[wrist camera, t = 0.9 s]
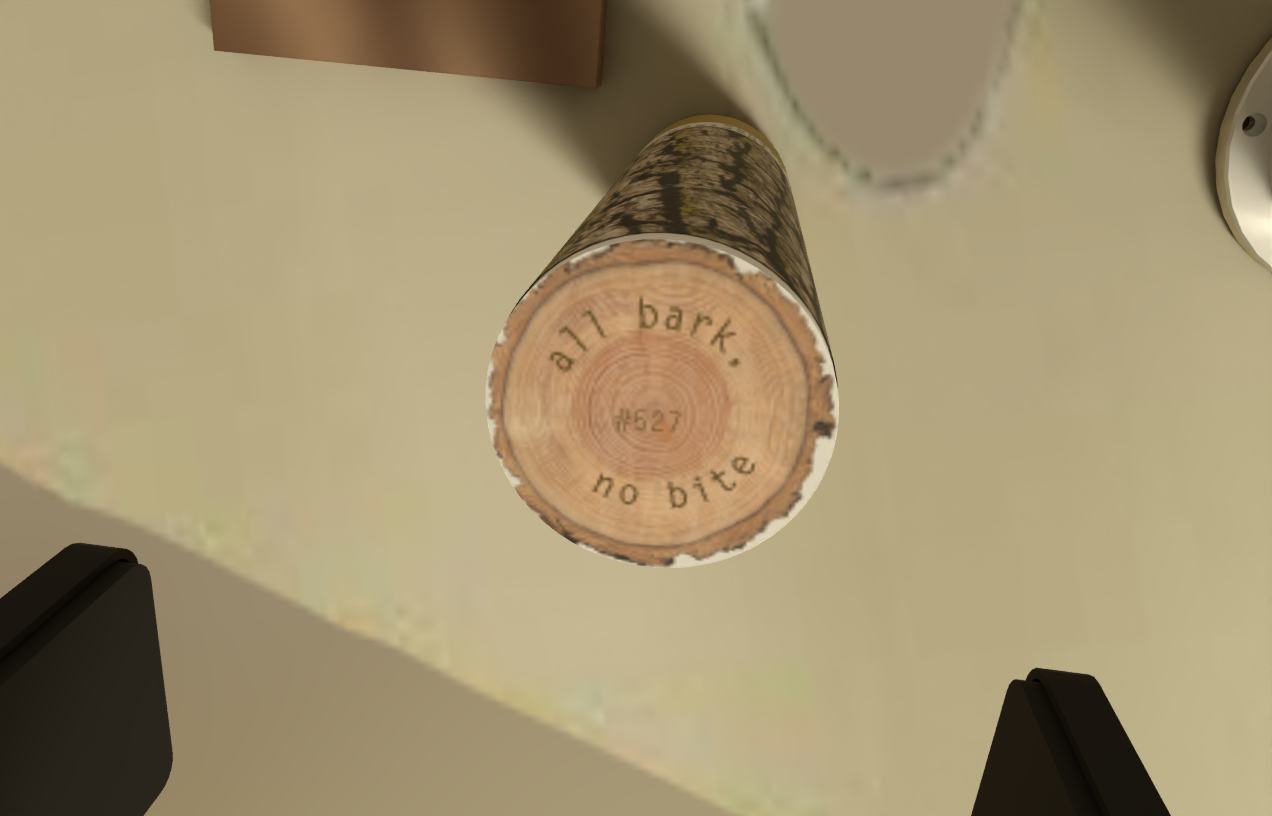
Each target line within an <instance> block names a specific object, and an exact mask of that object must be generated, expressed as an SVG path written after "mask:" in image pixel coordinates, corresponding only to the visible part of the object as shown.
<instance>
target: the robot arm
mask: <svg viewBox="0 0 1272 816" xmlns="http://www.w3.org/2000/svg"><path fill="white" fill-rule="evenodd" d="M1246 117H1249V119H1250V123H1249V125H1248V126H1247V127H1246V128H1244V129H1242V124H1243V122H1244V120H1245V119H1246ZM1215 166H1216V189H1217V193H1218V197H1219V201H1220V204H1221V208H1222V212H1223V216H1224V218H1225V220H1226V222H1227V224H1228V226H1229V227H1230V229H1231V231H1232V233H1233V235H1234V237H1235V239H1236V241H1237V242H1238V243H1239V244H1240V245H1241V246H1242V247H1243V248H1244V250H1245V251H1246V252H1247V253H1248V254H1249V255H1250V256H1251V258H1252V259H1253V260H1254V261H1256V262H1257V263H1258V264H1260V265H1261V266H1263V267H1264V268H1265V269H1267V270H1268V271H1270V272H1271V273H1272V37H1271V38H1270V40H1269V41H1268V42H1267V44H1266V45H1265V46H1264V47H1263V49H1262V50H1261V51H1260V52H1259V54H1258V55H1257V56H1256V57H1255V59H1254V60H1253V61H1252V63H1251V64H1250V65H1249V66H1248V68H1247V70H1246V72H1245V74H1244V75H1243V77H1242V79H1241V81H1240V83H1239V84H1238V86H1237V88H1236V90H1235V91H1234V93H1233V95H1232V97H1231V100H1230V102H1229V105H1228V108H1227V111H1226V114H1225V116H1224V119H1223V122H1222V125H1221V128H1220V133H1219V139H1218V145H1217V152H1216V158H1215ZM172 761H173V752H172V744H171V736H170V729H169V720H168V713H167V704H166V696H165V688H164V680H163V673H162V664H161V656H160V647H159V640H158V631H157V624H156V615H155V608H154V600H153V591H152V583H151V576H150V573H149V571H148V569H147V567H146V566H144V565H142V564H138V561H137V558H136V557H135V555H134V554H133V552H131V551H130V550H128V549H123V548H115V547H107V546H100V545H92V544H85V543H75V544H71V545H69V546H68V547H66V548H64V549H63V550H62V551H61V552H59V553H58V554H57V555H56V556H54V557H53V558H52V559H50V560H49V561H48V562H46V563H45V564H44V565H43V566H41V567H40V568H39V569H38V570H36V571H35V572H34V573H33V574H31V575H30V576H28V577H27V578H26V579H25V580H23V581H22V582H21V583H20V584H18V585H17V586H16V587H15V588H13V589H12V590H11V591H9V592H8V593H7V594H6V595H4V596H3V597H2V598H1V599H0V816H144V814H145V813H146V812H147V810H148V809H149V808H150V806H151V805H152V804H153V802H154V801H155V799H156V798H157V797H158V796H159V794H160V793H161V791H162V790H163V788H164V787H165V785H166V782H167V780H168V778H169V775H170V772H171V768H172ZM971 816H1171V815H1170V813H1169V811H1168V810H1167V808H1166V806H1165V804H1164V802H1163V800H1162V799H1161V797H1160V795H1159V793H1158V791H1157V789H1156V787H1155V786H1154V784H1153V782H1152V780H1151V778H1150V776H1149V775H1148V773H1147V771H1146V769H1145V767H1144V765H1143V764H1142V762H1141V760H1140V758H1139V756H1138V754H1137V752H1136V751H1135V749H1134V747H1133V745H1132V743H1131V741H1130V740H1129V738H1128V736H1127V734H1126V732H1125V730H1124V728H1123V727H1122V725H1121V723H1120V721H1119V719H1118V717H1117V716H1116V714H1115V712H1114V710H1113V708H1112V706H1111V704H1110V703H1109V701H1108V699H1107V697H1106V695H1105V693H1104V692H1103V690H1102V688H1101V686H1100V684H1099V683H1098V681H1097V680H1096V679H1095V677H1093V676H1091V675H1088V674H1080V673H1072V672H1065V671H1057V670H1050V669H1042V668H1035V669H1032V670H1031V672H1030V673H1029V674H1028V676H1027V678H1026V681H1025V680H1017V679H1015V680H1013V681H1012V682H1011V683H1010V684H1009V687H1008V689H1007V692H1006V696H1005V699H1004V703H1003V706H1002V710H1001V713H1000V717H999V720H998V724H997V727H996V731H995V734H994V738H993V741H992V745H991V748H990V752H989V755H988V759H987V762H986V766H985V769H984V773H983V776H982V780H981V783H980V787H979V790H978V794H977V797H976V801H975V804H974V808H973V811H972V815H971Z"/></svg>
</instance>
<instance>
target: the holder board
mask: <svg viewBox="0 0 1272 816" xmlns="http://www.w3.org/2000/svg"><path fill="white" fill-rule="evenodd" d="M606 2H607V0H210V4H211V17H212V30H213V43H214V51H224V52H234V53H245V54H255V55H265V56H275V57H285V58H295V59H306V60H316V61H326V62H336V63H346V64H356V65H367V66H377V67H387V68H397V69H407V70H417V71H427V72H438V73H448V74H458V75H468V76H478V77H488V78H499V79H509V80H519V81H529V82H539V83H549V84H560V85H570V86H580V87H590V88H597V87H599V86H601V76H602V61H603V46H604V32H605V17H606Z"/></svg>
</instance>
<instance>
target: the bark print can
mask: <svg viewBox="0 0 1272 816" xmlns="http://www.w3.org/2000/svg"><path fill="white" fill-rule="evenodd" d="M486 413H487V422H488V427H489V432H490V436H491V440H492V443H493V446H494V449H495V452H496V455H497V457H498V460H499V462H500V464H501V466H502V469H503V470H504V472H505V474H506V476H507V477H508V479H509V481H510V483H511V484H512V486H513V487H514V489H515V490H516V491H517V493H518V494H519V496H520V497H521V498H522V499H523V501H524V502H525V503H526V504H527V505H528V506H529V507H530V509H531V510H532V511H533V512H534V513H535V514H536V515H537V516H538V517H539V518H541V519H542V520H543V521H544V522H545V523H546V524H547V525H549V526H550V527H551V528H552V529H554V530H555V531H556V532H558V533H559V534H561V535H562V536H564V537H565V538H567V539H568V540H570V541H571V542H573V543H575V544H577V545H579V546H581V547H583V548H585V549H587V550H589V551H591V552H593V553H596V554H598V555H601V556H603V557H606V558H610V559H613V560H616V561H619V562H624V563H628V564H633V565H638V566H647V567H656V568H678V567H691V566H697V565H704V564H709V563H712V562H716V561H720V560H724V559H727V558H729V557H732V556H735V555H738V554H740V553H742V552H744V551H746V550H748V549H751V548H753V547H755V546H756V545H758V544H760V543H761V542H763V541H765V540H766V539H768V538H770V537H771V536H772V535H774V534H775V533H776V532H778V531H779V530H780V529H782V528H783V527H784V526H785V525H786V524H787V523H788V522H789V521H790V520H791V519H793V518H794V517H795V516H796V515H797V513H798V512H799V511H800V510H801V509H802V508H803V507H804V505H805V504H806V503H807V502H808V500H809V499H810V497H811V496H812V494H813V493H814V492H815V490H816V489H817V487H818V485H819V483H820V481H821V479H822V478H823V476H824V474H825V471H826V469H827V466H828V464H829V462H830V459H831V456H832V452H833V449H834V445H835V441H836V435H837V429H838V418H839V400H838V385H837V377H836V371H835V366H834V361H833V357H832V353H831V349H830V345H829V341H828V337H827V333H826V329H825V325H824V320H823V316H822V312H821V308H820V304H819V300H818V296H817V292H816V288H815V284H814V280H813V276H812V272H811V268H810V264H809V260H808V256H807V252H806V247H805V243H804V239H803V235H802V231H801V227H800V223H799V219H798V215H797V211H796V207H795V203H794V199H793V195H792V192H791V187H790V184H789V180H788V177H787V173H786V170H785V167H784V164H783V162H782V160H781V158H780V156H779V154H778V152H777V151H776V149H775V148H774V147H773V145H772V144H771V143H770V142H769V140H768V139H767V138H766V137H765V136H764V135H762V134H761V133H760V132H759V131H758V130H756V129H755V128H753V127H752V126H750V125H748V124H747V123H745V122H742V121H740V120H738V119H735V118H731V117H727V116H722V115H698V116H693V117H689V118H685V119H682V120H680V121H677V122H675V123H673V124H671V125H670V126H668V127H666V128H665V129H663V130H662V131H661V132H660V133H658V134H657V135H656V136H655V137H654V138H653V139H652V140H651V141H650V142H649V143H648V144H647V146H646V147H645V148H644V149H643V150H642V151H641V152H640V153H639V154H638V156H637V157H636V158H635V159H634V161H633V162H632V163H631V164H630V165H629V167H628V168H627V169H626V170H625V172H624V173H623V174H622V175H621V176H620V178H619V179H618V180H617V181H616V183H615V184H614V185H613V186H612V187H611V189H610V190H609V191H608V192H607V194H606V195H605V196H604V197H603V198H602V200H601V201H600V202H599V203H598V205H597V206H596V207H595V208H594V209H593V211H592V212H591V213H590V214H589V216H588V217H587V218H586V219H585V220H584V222H583V223H582V224H581V225H580V227H579V228H578V229H577V230H576V231H575V233H574V234H573V235H572V236H571V237H570V239H569V240H568V241H567V242H566V244H565V245H564V246H563V247H562V248H561V250H560V251H559V252H558V253H557V255H556V256H555V257H554V258H553V259H552V261H551V262H550V263H549V264H548V266H547V267H546V268H545V269H544V270H543V272H542V273H541V274H540V275H539V277H538V278H537V279H536V280H535V281H534V283H533V284H532V285H531V286H530V288H529V289H528V290H527V291H526V292H525V294H524V295H523V296H522V297H521V299H520V300H519V301H518V303H517V304H516V306H515V308H514V309H513V311H512V312H511V314H510V316H509V318H508V319H507V321H506V323H505V325H504V327H503V329H502V331H501V333H500V335H499V337H498V339H497V342H496V344H495V347H494V350H493V353H492V356H491V360H490V364H489V368H488V374H487V383H486Z"/></svg>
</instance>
